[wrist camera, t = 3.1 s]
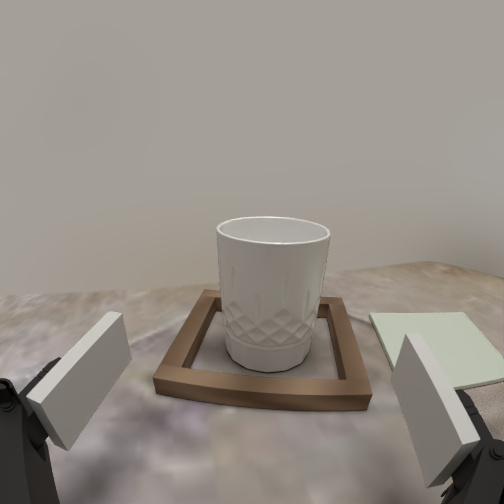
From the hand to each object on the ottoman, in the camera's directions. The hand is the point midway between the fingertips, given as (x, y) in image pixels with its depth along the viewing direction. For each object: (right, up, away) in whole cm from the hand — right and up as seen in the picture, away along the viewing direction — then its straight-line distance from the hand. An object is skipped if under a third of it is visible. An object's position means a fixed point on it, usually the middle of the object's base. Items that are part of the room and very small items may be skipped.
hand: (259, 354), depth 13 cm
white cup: (+1, -3, +11) cm, 12 cm away
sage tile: (+17, -4, +10) cm, 20 cm away
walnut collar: (+1, -3, +11) cm, 12 cm away
